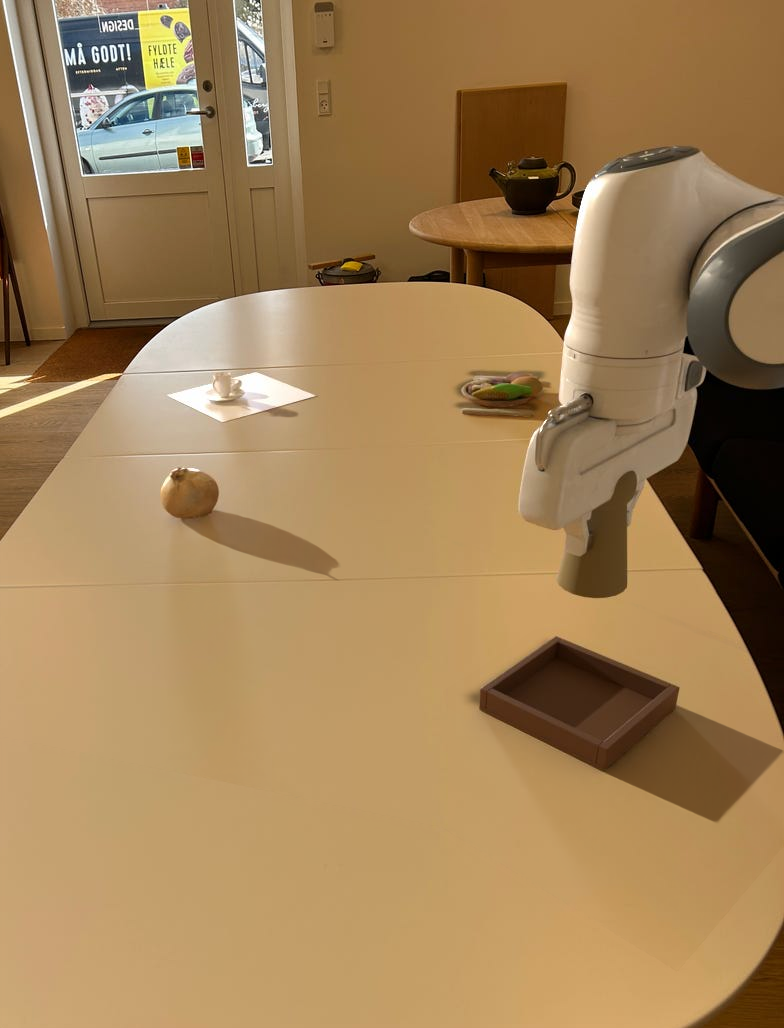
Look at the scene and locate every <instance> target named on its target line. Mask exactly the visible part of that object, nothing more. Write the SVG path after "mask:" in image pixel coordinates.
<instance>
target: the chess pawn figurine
mask: <svg viewBox="0 0 784 1028" xmlns="http://www.w3.org/2000/svg"><path fill="white" fill-rule="evenodd" d="M636 487H637V475H636V473H635V472H634V471H628V472H626V473H625V474H623V475H622V476H621V477H620V478H619V480H618V481H617V484H616V486H615V489H614V493H613V495H612V497H611V499H610V500H609V501H607V502H606V503H604V504H602V505H600V506H599V507H597V508H595V509H594V510H592V512H591V518H590V519H589V520H588V521H587V526H588V531H591V532H594V540H593V542H592V544H593V547H592V549H591V550H590V551H588V552H586V553H585V554H583V555H582V556H576V555H573V554H571V553H568V552H567V551H566V550H565V547H564V549H563V552H562V556H561V560H560V564H559V569H558V572H557V576H556V582H557V584H558V586H559V587H560V588H561V589H563V590H564V591H566V592H568V593H569V594H572V595H575V596H578V597H582V598H587V599H588V598H589V599H590V598H591V599H608V598H611V597H616V596H619V595H620V594H622V593H624V592H625V590H626V589H627V588H628V527H627V504H628V503H629V502H630V501H631V500H632V499H633V497H634V495H635V492H636Z"/></svg>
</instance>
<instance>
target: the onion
mask: <svg viewBox="0 0 784 1028" xmlns="http://www.w3.org/2000/svg"><path fill="white" fill-rule="evenodd" d="M219 495H220V490H219V485H218V483H217V482H216V480H215V478H214V477H212V475H210V474H209V473H207V472H205V471H203V470H201V469H197V468H191V467H190V468H185V467H180V466H177V467H176V468H174V469H173V470H170V473H169V475H168V476H167V477H166V478H165V480H164V482H163V484H162V485H161V488H160V492H159V497H160V502H161V505H162V507H163V509H164V510H165V511H166V512H167V513H168V514H169V515H170V516H172V517H174V518H175V519H176V518H177V519H183V520H191V519H195V518H199V517H200V518H204V517H205V516H208V515H211V514H212V513H213V512H214V509H215V507H216V505H217V504H218V500H219Z"/></svg>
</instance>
